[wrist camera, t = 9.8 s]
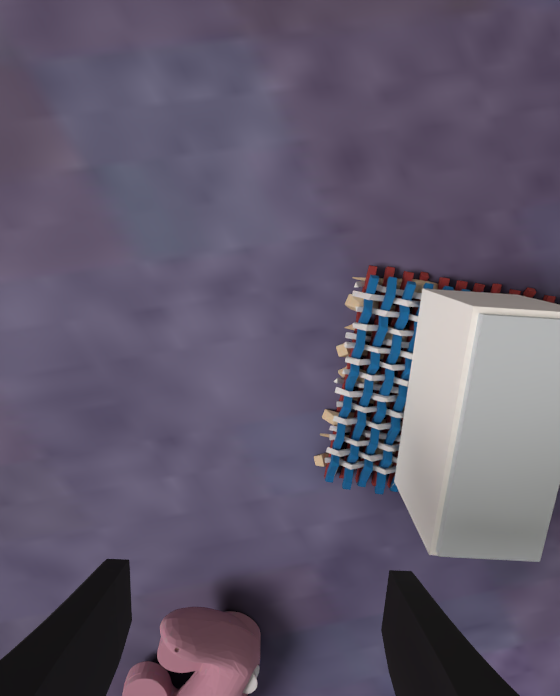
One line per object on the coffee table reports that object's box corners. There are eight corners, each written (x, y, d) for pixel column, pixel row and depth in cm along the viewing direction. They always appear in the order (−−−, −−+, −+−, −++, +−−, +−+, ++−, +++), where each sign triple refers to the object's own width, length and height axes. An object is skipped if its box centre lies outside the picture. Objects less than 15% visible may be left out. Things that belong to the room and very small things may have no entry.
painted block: (517, 294, 18) (608, 316, 13) (478, 486, 20) (543, 566, 15) (422, 288, 18) (477, 307, 13) (394, 481, 20) (432, 561, 15)
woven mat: (571, 294, 20) (603, 300, 18) (505, 494, 22) (527, 519, 21) (350, 257, 19) (358, 259, 18) (309, 465, 22) (312, 487, 20)
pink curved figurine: (82, 686, 24) (184, 741, 26) (44, 779, 20) (169, 841, 21) (183, 558, 23) (285, 621, 25) (167, 627, 19) (292, 700, 20)
